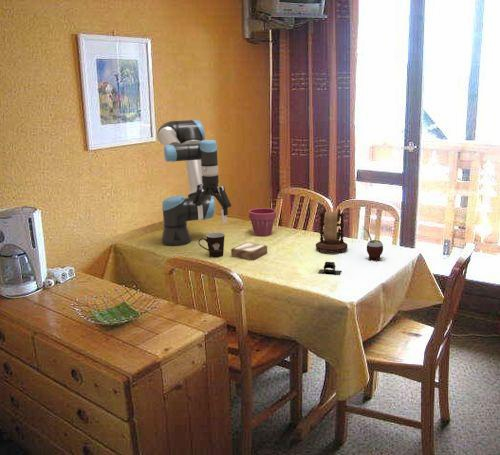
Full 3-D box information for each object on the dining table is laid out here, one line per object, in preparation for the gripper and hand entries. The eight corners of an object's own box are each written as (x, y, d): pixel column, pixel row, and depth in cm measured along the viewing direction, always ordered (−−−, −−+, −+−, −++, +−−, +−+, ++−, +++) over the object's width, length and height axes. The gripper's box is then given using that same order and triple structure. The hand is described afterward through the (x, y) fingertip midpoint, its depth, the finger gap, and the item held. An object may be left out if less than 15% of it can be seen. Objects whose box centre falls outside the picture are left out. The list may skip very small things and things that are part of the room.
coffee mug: (228, 253, 239) (227, 233, 237) (221, 259, 231) (220, 238, 229) (205, 251, 243) (204, 231, 240) (198, 257, 235) (197, 236, 233)
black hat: (313, 275, 209) (313, 264, 208) (316, 269, 215) (316, 259, 214) (343, 277, 205) (343, 266, 204) (346, 271, 211) (346, 261, 210)
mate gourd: (386, 259, 223) (387, 226, 219) (372, 262, 219) (373, 229, 215) (374, 255, 229) (375, 223, 225) (360, 258, 225) (361, 226, 222)
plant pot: (280, 232, 272) (280, 209, 269) (268, 238, 261) (267, 214, 258) (257, 229, 280) (257, 206, 276) (244, 235, 268) (243, 212, 265)
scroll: (312, 253, 235) (312, 211, 230) (319, 244, 248) (319, 204, 243) (344, 255, 230) (345, 212, 225) (349, 246, 243) (350, 205, 238)
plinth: (231, 256, 234) (231, 248, 233) (246, 249, 244) (245, 241, 243) (253, 260, 227) (253, 252, 226) (267, 253, 237) (267, 245, 236)
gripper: (183, 174, 231) (186, 219, 237) (227, 177, 218) (229, 225, 224) (193, 172, 237) (196, 216, 243) (237, 175, 224) (239, 221, 230)
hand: (212, 220), depth 233 cm, fingers open, 13 cm apart
